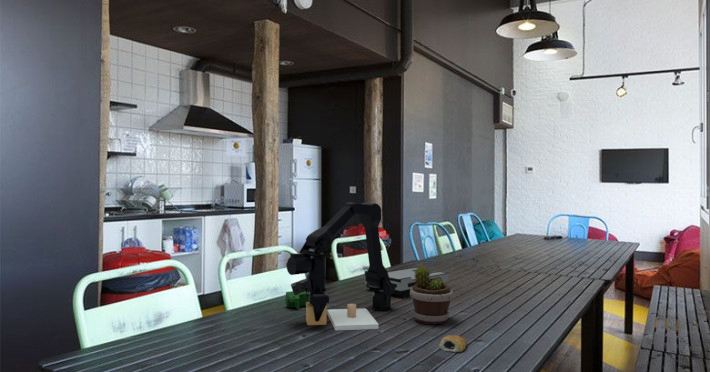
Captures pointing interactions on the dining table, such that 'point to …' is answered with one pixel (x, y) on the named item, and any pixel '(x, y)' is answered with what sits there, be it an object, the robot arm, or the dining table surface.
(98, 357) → the dining table surface
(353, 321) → the plate
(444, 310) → the flowerpot
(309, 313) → the cardboard box
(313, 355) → the dining table surface
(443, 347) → the pastry
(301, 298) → the clamp
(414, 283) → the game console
